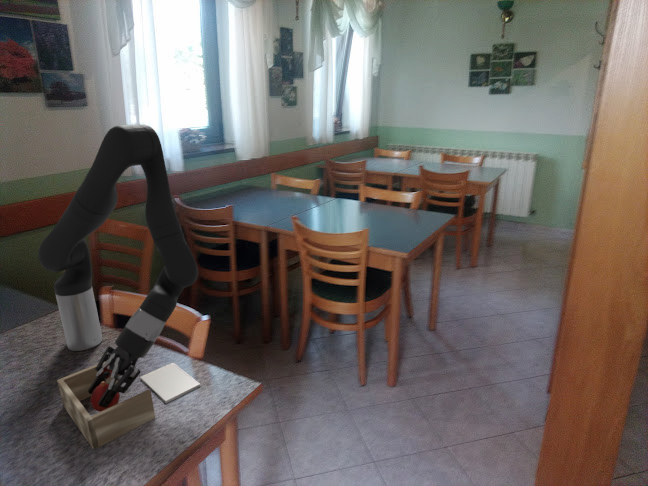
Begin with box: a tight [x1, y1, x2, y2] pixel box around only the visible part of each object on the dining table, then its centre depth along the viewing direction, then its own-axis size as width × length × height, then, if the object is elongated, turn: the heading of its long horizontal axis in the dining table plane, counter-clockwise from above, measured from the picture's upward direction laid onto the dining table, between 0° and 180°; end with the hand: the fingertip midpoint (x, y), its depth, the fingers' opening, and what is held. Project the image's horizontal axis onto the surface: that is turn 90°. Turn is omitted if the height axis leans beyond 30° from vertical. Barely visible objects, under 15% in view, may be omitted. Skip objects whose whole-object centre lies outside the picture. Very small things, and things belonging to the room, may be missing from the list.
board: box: [139, 362, 201, 404], centre depth 110 cm, size 14×9×1 cm, turn 45°
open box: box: [56, 362, 156, 450], centre depth 99 cm, size 20×13×7 cm, turn 45°
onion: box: [90, 381, 121, 412], centre depth 99 cm, size 6×6×8 cm
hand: (96, 399), depth 98 cm, fingers closed on onion, 5 cm apart
